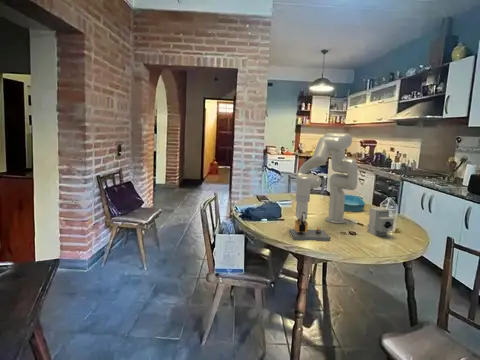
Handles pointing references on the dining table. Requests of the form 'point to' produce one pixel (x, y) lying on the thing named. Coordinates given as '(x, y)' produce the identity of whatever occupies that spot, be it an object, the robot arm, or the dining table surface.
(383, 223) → the circuit breaker
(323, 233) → the plate
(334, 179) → the robot arm
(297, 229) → the orange panelled cube
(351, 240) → the dining table surface
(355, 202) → the casserole dish
